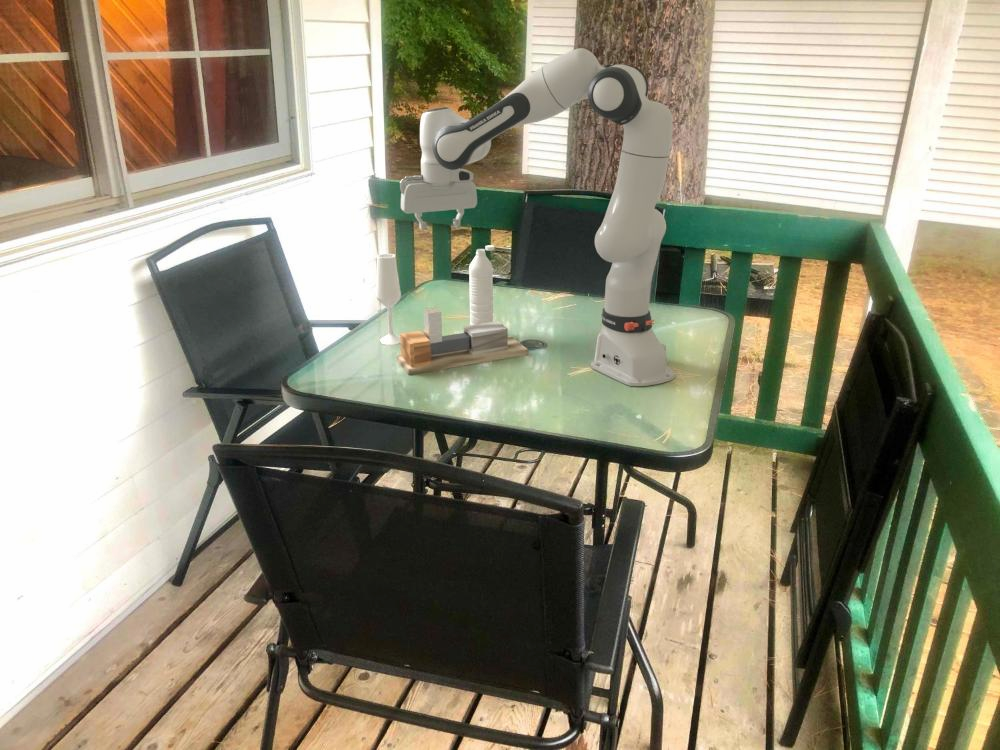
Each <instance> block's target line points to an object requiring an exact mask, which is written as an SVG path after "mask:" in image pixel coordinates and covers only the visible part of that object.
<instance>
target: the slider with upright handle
mask: <svg viewBox="0 0 1000 750" xmlns="http://www.w3.org/2000/svg"><path fill="white" fill-rule="evenodd" d="M422 313H423V315H422V318H423V334H424V335H425V336H426V337H427V338H428V339H429V340H430V349H431V355H437V354H443V353H449V352H455V351H462V350H468V349H471V336H470V335H469V334H468V333H467V332H466V333H464V332H462V333H461V332H460V333H456V334H455V333H454V334H453V333H452V334H448V335H443V328H442V327H443V325H442V311H441V310H440V309H439V308H438V307H436V306H434V307H428V308H427V307H426V308H422Z"/></svg>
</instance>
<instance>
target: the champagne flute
mask: <svg viewBox="0 0 1000 750" xmlns="http://www.w3.org/2000/svg"><path fill="white" fill-rule="evenodd" d="M398 273H399V272H398V267H397V260H396V254H393V253H381V254H378V255H377V256H376V284H375V285H376V286H375V288H376V289H375V297H376V299H377V301H378V302H379V303H380V305H382V306H384V307H385V308H387V309H386V310H387V311H386V312H387V325H388V327H387V328H388V334H386V335H384V336H383V337H382V338H380V339H379V340H380V342H381V343H380V342H379V343H380V344H383V345H387V346H392V345H398V344H401V340H400V335H397V334H395V333H394V326H393V311H392V307H394V306H396V304H397V303H398V302H399V301H400V299H401V297H402V292H401V286H400V279H399V274H398Z"/></svg>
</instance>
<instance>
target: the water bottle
mask: <svg viewBox="0 0 1000 750" xmlns="http://www.w3.org/2000/svg"><path fill="white" fill-rule="evenodd" d="M484 247H485V248H477V249H476V252H475V256H474V257H473V259H472V261H471V262H470V263H469V266H468V275H469V276H468V277H469V278H468V279H469V280H468V281H469V283H468V284H469V285H468V287H469V297H468V298H469V320H470V321H469V326H470V325H476V324H483V323H490V322H494V309H493V308H494V293H493V292H494V290H493V289H494V287H493V286H494V283H493V280H494V278H493V277H494V276H493V274H494V269H493V268H494V267H493V264H492V262H491V260H490V259H489V257H487V255H486V251H487V252H488V251H490V252H491V251H495V245H492V244H490V245H489V244H488V245H485V246H484Z"/></svg>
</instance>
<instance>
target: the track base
mask: <svg viewBox="0 0 1000 750" xmlns="http://www.w3.org/2000/svg"><path fill="white" fill-rule="evenodd" d="M466 332H467V333H468V334H469V335H470V336H471V349H468V350H462V351H455V352H449V353H443V354H437V355H431V349H430V340H429V339H428V338H427V337H426V336H425V335H424V332H421V330H416V331H409V332H405V333H404V332H403V333H402V332H401V333H399V337H400V340H401V343H400V354H398V355H396V361H397V363H398V364H399V365H400V366H401V367H402V369H403V368H404V369H403V370H404V371H405V372H406V374H411V375H415V374H421V373H429V372H433V371H438V370H445V369H449V368H450V369H451V368H456V367H463V366H468V365H474V364H480V363H484V362H485V363H487V362H492V361H497V360H503V359H509V358H516V357H521V356H522V357H523V356H527V354H529V349H528V348H527V347H526V346H524V345H523V344H522V343H520V342H519V341H518V340H517V339H515V338H514V337H512V336H511V337H508V334H509V333H508V327H507V326H506V325H504V324H503V323H501V321H493V322H490V323H483V324H476V325H470V324H469V325H464V326H463V333H466Z"/></svg>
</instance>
